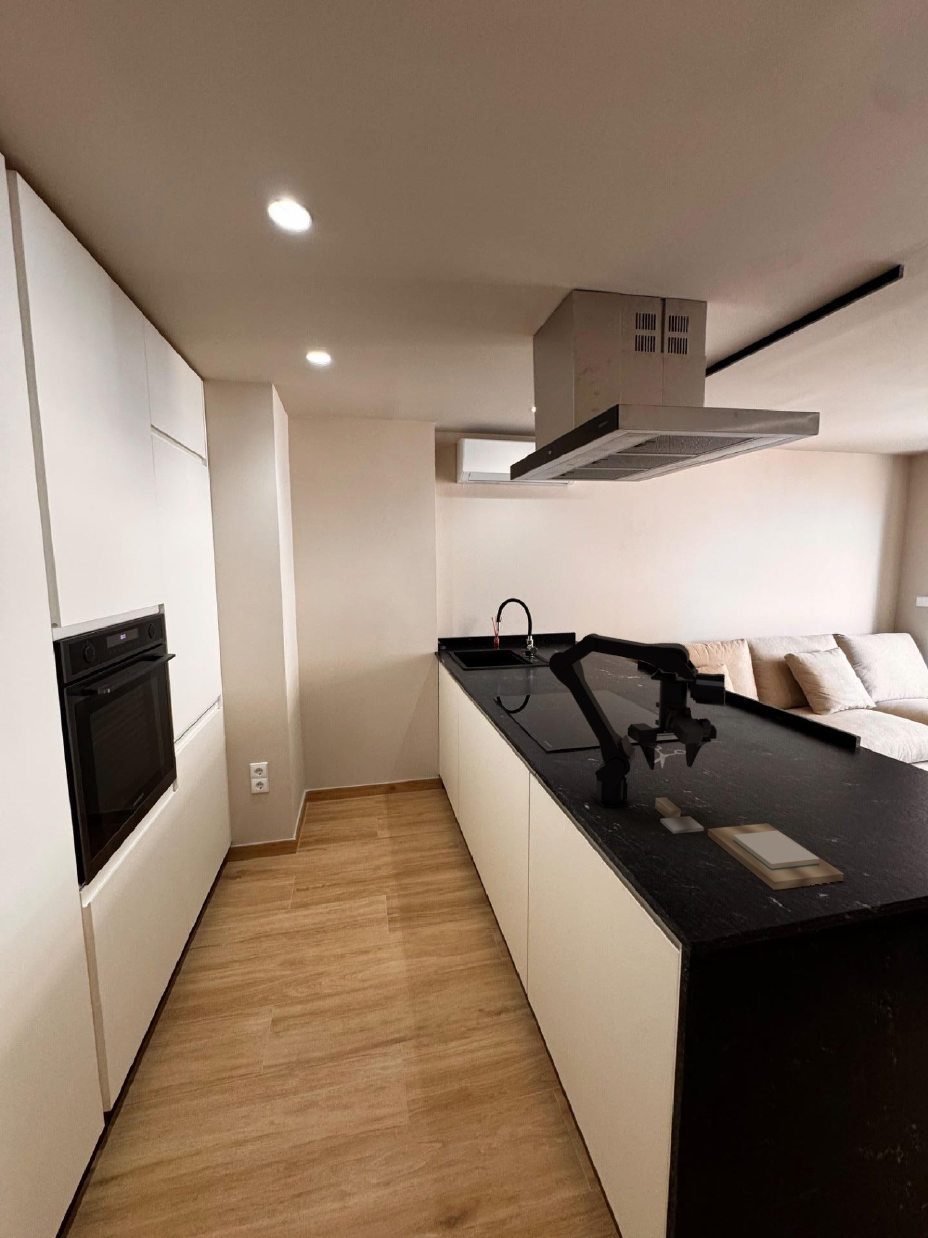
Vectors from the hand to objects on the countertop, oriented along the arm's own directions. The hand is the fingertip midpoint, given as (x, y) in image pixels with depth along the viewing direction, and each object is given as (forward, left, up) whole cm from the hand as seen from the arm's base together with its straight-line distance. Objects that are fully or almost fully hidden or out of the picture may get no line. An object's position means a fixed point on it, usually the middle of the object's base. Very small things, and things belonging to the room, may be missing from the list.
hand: (670, 768), depth 114 cm
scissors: (+18, +32, -12) cm, 38 cm away
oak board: (+10, -19, -11) cm, 24 cm away
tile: (+10, -20, -9) cm, 24 cm away
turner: (0, -2, -11) cm, 11 cm away
